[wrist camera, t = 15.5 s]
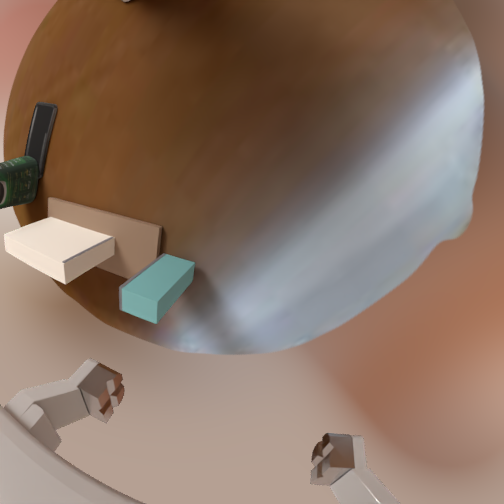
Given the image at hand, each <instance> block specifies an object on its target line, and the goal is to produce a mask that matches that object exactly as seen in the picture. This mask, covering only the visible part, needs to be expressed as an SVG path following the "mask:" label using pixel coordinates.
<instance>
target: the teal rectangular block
mask: <svg viewBox="0 0 504 504" xmlns="http://www.w3.org/2000/svg"><path fill="white" fill-rule="evenodd" d="M194 267H195V262H191V261H188V260H185V259H181V258H178V257H174V256H171V255H168V254H165V253H163V254H162V255H161V256H159V257H158V258H156V259H155V260H154V261H152V262H151V263H150V264H148V265H147V266H146V267H144V268H143V269H142V270H140V271H139V272H138V273H136V274H135V275H134V276H133V277H131V278H130V279H129V280H127V281H126V282H125V283H123V284H122V285H121V286H120V287H119V307H120V310H121V311H125V312H127V313H129V314H132V315H134V316H137V317H139V318H142V319H144V320H147V321H150V322H152V323H155V324H157V323H158V322H159V321H160V319H161V318H162V317H163V316H164V315H165V313H166V312H167V311H168V310H169V309H170V307H171V306H172V305H173V304H174V303H175V301H176V300H177V299H178V298H179V297H180V295H181V294H182V293H183V292H184V291H185V289H186V288H187V287H188V286H189V285H190V284H191V282H192V281H193V274H194Z"/></svg>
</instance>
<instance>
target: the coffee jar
mask: <svg viewBox="0 0 504 504" xmlns="http://www.w3.org/2000/svg"><path fill="white" fill-rule="evenodd" d="M38 176H39V166H38V163H37V161H36V160H35V159H34V158H32V157H30V156H23V157H19V158H15V159H12V160H9V161H6V162H2V163H0V209H2V208H6V207H10V206H16V205H22V204H26V203H30V202H32V201H33V200H34V199H35V196H36V192H37V186H38Z"/></svg>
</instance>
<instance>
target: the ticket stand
mask: <svg viewBox="0 0 504 504" xmlns="http://www.w3.org/2000/svg"><path fill="white" fill-rule="evenodd" d="M161 234H162V226H159V225H155V224H152V223H148V222H144V221H140V220H137V219H133V218H129V217H125V216H121V215H118V214H114V213H110V212H106V211H102V210H99V209H95V208H91V207H87V206H83V205H80V204H76V203H72V202H68V201H64V200H61V199H57V198H53V197H50V198H48V218H46V219H43V220H40V221H37V222H34V223H32V224H29V225H26V226H23V227H21V228H18V229H16V230H13V231H11V232H8V233H5V234H4V241H5V249H6V251H7V252H8V253H10V254H11V255H13V256H15V257H16V258H18V259H20V260H21V261H23V262H25V263H27V264H28V265H30V266H32V267H33V268H35V269H37V270H39V271H41V272H43V273H45V274H46V275H48V276H50V277H52V278H54V279H56V280H58V281H60V282H62V283H64V284H67V283H69V282H70V281H72V280H74V279H75V278H77V277H78V276H80V275H82V274H83V273H85V272H86V271H88V270H90V269H91V268H93V267H95V266H96V267H98V268H101V269H103V270H106V271H108V272H111V273H114V274H116V275H119V276H122V277H124V278H127V279H130V278H131V277H133V276H134V275H135V274H136V273H138V272H139V271H140V270H142V269H143V268H144V267H146V266H147V265H148V264H150V263H151V262H152V261H154V260H155V259H156V258H158V257H159V254H160V244H161Z"/></svg>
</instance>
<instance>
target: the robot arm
mask: <svg viewBox="0 0 504 504" xmlns="http://www.w3.org/2000/svg"><path fill="white" fill-rule="evenodd" d="M122 1H123V2H127V1H130V0H122ZM122 380H123V378H122V374H120V373H118V372H116V371H114V370H112V369H110V368H109V367H107V366H105V365H103V364H101V363H99V362H97V361H95V360H94V359H92V358H90V359H88V360H86V361H85V362H84V363H83V364H82V365H81V366H80V368H79V369H78V370H77V371H76V372H75V373H74V374H73V375H72V376H71V377H70V378H69V379H68V380H65V379H63V380H60V381H56V382H52V383H48V384H44V385H40V386H36V387H32V388H27V389H23V390H20V391H19V392H18V393H17V395H15V396H14V397H13V398H12V399H11V400H10V401H9V403H8V404H7V405H6V406H5V407H4V408H3V407H2V406H1V405H0V504H145V503H143V502H140V501H138V500H136V499H133V498H131V497H129V496H127V495H125V494H123V493H121V492H119V491H117V490H115V489H113V488H111V487H109V486H107V485H106V484H104V483H102V482H100V481H98V480H97V479H95V478H93V477H91V476H90V475H88V474H86V473H85V472H83V471H82V470H80V469H78V468H77V467H75V466H74V465H72V464H71V463H69V462H68V461H66V460H65V459H63V458H62V457H60V456H59V455H58V454H56V453H55V452H54V451H55V450H56V449H57V447H58V446H59V444H60V443H61V438H60V437H59V435H58V434H57V432H56V430H57V429H59V428H61V427H64V426H66V425H69V424H71V423H73V422H76V421H78V420H80V419H82V418H85V417H87V416H89V415H91V416H93V417H95V418H97V419H99V420H100V421H102V422H104V423H107V422H108V420H109V419H110V417H111V416H112V414H113V407H116V406H119V404H120V403H121V401H122V399H123V396H124V386H123V385H122V383H121V381H122ZM322 438H323V439H322V441H321V442H318V443H317V444H316V446H315V448H314V450H313V453H312V461H311V462H312V463H313V465H314V466H315V467H314V468H313V469H312V470H311V482H310V484H315V485H329V486H330V488H331V490H332V491H333V493H334V495H335V497H336V498H337V500H338V501H339V503H340V504H400V502H399V501H398V500H397V499H396V498H395V497H394V496H393V495H392V493H391V492H390V491H389V490H388V489H387V488H386V486H385V485H384V484H383V483H382V482H381V481H380V479H379V478H378V477H377V476H376V475H375V473H374V472H373V471H372V470H371V469H367V461H366V452H365V445H364V438H363V437H362V436H357V435H346V434H333V433H326V434H325V435H324V436H323V437H322Z"/></svg>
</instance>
